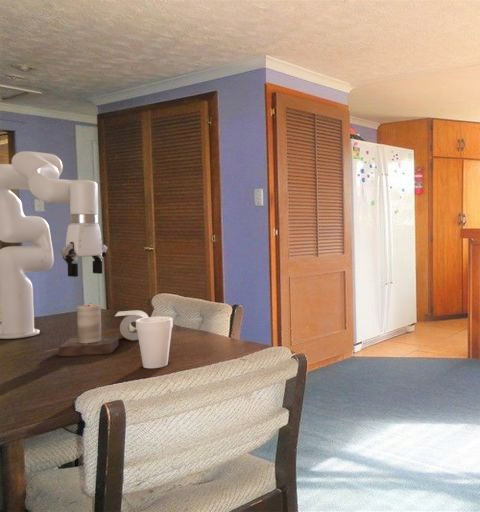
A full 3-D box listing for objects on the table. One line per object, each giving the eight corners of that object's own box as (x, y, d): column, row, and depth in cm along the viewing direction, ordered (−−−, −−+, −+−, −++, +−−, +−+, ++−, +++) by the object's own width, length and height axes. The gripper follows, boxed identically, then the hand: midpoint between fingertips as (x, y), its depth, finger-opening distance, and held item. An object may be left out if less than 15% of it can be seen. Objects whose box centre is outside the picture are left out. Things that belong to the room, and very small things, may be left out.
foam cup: (144, 361, 152) (143, 316, 152) (177, 360, 153) (176, 316, 152) (131, 370, 143) (130, 322, 142) (166, 369, 144) (165, 322, 143)
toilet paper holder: (118, 310, 187) (164, 308, 192) (119, 334, 188) (164, 332, 193) (114, 316, 176) (162, 313, 181) (114, 342, 176) (163, 339, 181)
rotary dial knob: (99, 342, 163) (98, 306, 162) (75, 343, 161) (74, 307, 160) (103, 338, 169) (102, 303, 168) (80, 339, 167) (79, 303, 166)
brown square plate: (58, 356, 157) (58, 346, 157) (70, 347, 169) (70, 337, 169) (110, 353, 161) (110, 343, 161) (118, 344, 173) (118, 335, 172)
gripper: (95, 220, 173) (96, 271, 174) (50, 219, 156) (52, 277, 157) (115, 220, 171) (116, 272, 172) (71, 220, 154) (72, 278, 156)
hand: (85, 274), depth 165 cm, fingers open, 9 cm apart
